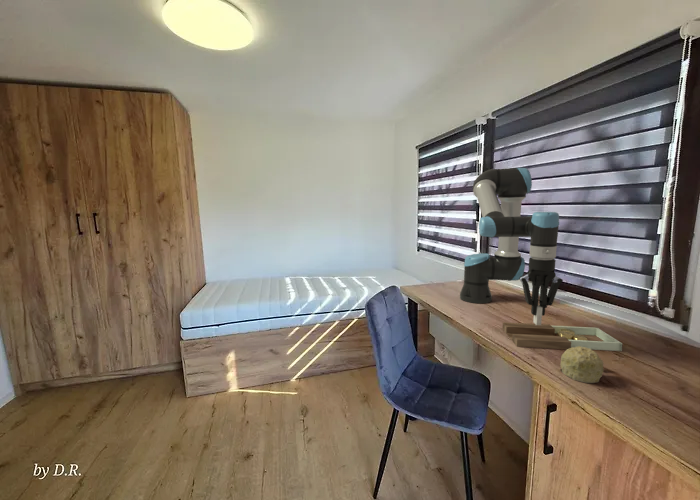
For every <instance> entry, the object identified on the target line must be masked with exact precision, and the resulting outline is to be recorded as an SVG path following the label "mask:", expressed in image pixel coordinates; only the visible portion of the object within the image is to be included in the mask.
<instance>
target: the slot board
mask: <svg viewBox="0 0 700 500" xmlns="http://www.w3.org/2000/svg"><path fill="white" fill-rule="evenodd" d="M552 326H553V325H551V324H548V323H547V324H546V323H541V325H536V324H535V323H527V322H526V323H525V322H506V321H505V322H504V321H503V322H502V329H501V330H503V331H504V333H505V334H506V335H507V336H508V337H509V339H510V340H511V341H512V343H513V344H514V345H515V347H517V348H518V347H519V348H532V349H533V348H535V349H553V350H564V351H566V350H567V349H569V348H571V342H570V341H569V340H568V339H567V338H565V337H561V336H558V335H555V334H556V333H555V329H554V328H553V327H552Z"/></svg>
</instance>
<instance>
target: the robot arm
mask: <svg viewBox="0 0 700 500" xmlns="http://www.w3.org/2000/svg"><path fill="white" fill-rule="evenodd" d="M532 187H533V181H532V174H531V173H530V170H529V169H528V168H526V167H509V168H508V167H507V168H491V169H488V170H485V171H483V172H482V173H481V174H479V175H478V176H477V177H476V178H475V180H474V181H473V185H472V192H473V195H474V197H475V198H477V202H478V205H479V209H480V212H481V216H482V217H480V219H479V223H478V233H479V235H480V236H481V237H488V238H498V244H497V250H496V251H495V252H494V253H493V254H494V255H493V256H491V255H490V254H489V253H482V252H481V253H473V254H469V255H467V256H465V257H464V264H463V266H464V267H463V268H464V269H463V271H464V273H463V275H464V277H463V286H462V288H461V291H460V293H459V299H460V300H462V301H463V302H467V303H472V304H487V303H488V304H489V303H491V302H492V301H493V296H492V293H491V289H490V286H489V281H508V282H510V281H520V282H521V285H522V290H523V293H524V294H523V295H524V299H525V302H526V303H527V304H528V305H529V306H531V311H530V313H531V315H533V322H532V323H533V324H536V325H541V324H542V321H543V319H542V318H543V316H545V314H546V308H548V307H549V306H553V303H554V300H555V298H556V294H557V292H558V289H559V287H560V285H561V284H562V283H563V281H564V280H563V279H562V278H561V277H558V275H557V276H556V273H555V270H556V258H557V248H558V247H557V245H558V236H559V225H560V214H559V213H558V212H557V211H535V212H533V213H532V215H527V216H526V215H525V216H522V215H521V213H522V202H523V201H524V199H526V197H527V194H529V193H531V190H532ZM520 238H530V245H529V254H528V256H529V258H528V270H527V272H526V274H525V275H524V273H525V269H526V265H525V264H526V262H525V259H524V257H523V256H522V253H520V251H519V239H520ZM529 280H530V282H531V286H532V291H531V289H530V285H529ZM550 283H551V284H550ZM549 286H550V287H549Z"/></svg>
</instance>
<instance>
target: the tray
mask: <svg viewBox="0 0 700 500" xmlns="http://www.w3.org/2000/svg"><path fill="white" fill-rule="evenodd" d="M551 326H552V327H553V328H554V329H555V334H558V332H559V331H561V329H569V330H572V331H574V332H575V335H582V336H596V337H597V338H599V339H600V340H601V341H600V340H587V341H585V340H569V341H570V342H571V348H572V347H578V346H580V347H586V348H589V349H591V350H593V351H594V350H596V351H611V352H612V351H613V352H615V351H616V352H622V351H623V343H622V342H621V341H619V340H618V339H616V338H614V337H613V336H611V335H610V334H608V333H606V332H605V331H604V330H602V329H600V328H599V327H592V326H591V327H589V326H586V327H585V326H569V325H568V326H567V325H551Z"/></svg>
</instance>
